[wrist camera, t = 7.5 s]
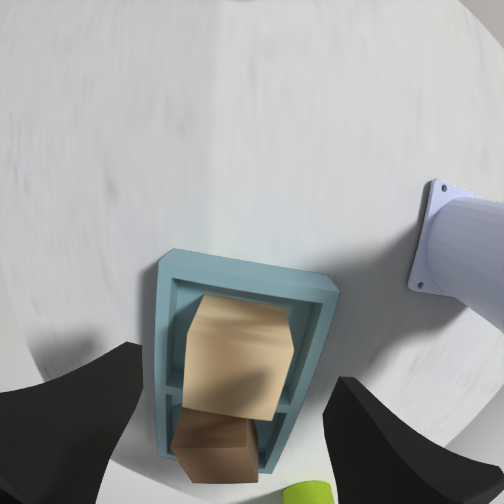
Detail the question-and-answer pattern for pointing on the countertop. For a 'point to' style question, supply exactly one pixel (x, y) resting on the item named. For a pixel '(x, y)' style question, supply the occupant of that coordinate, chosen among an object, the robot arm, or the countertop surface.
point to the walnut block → (216, 447)
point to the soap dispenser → (308, 493)
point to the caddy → (249, 289)
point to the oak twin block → (236, 358)
